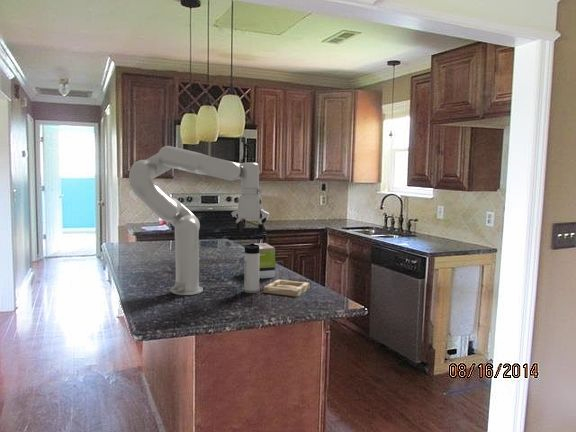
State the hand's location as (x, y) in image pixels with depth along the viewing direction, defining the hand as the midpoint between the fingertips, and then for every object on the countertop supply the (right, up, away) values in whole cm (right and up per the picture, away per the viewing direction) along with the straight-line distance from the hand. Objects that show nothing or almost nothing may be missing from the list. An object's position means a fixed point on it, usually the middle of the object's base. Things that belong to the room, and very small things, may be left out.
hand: (250, 232), depth 199 cm
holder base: (+16, -25, +4) cm, 29 cm away
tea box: (+3, -22, +33) cm, 39 cm away
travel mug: (0, -25, +1) cm, 25 cm away
